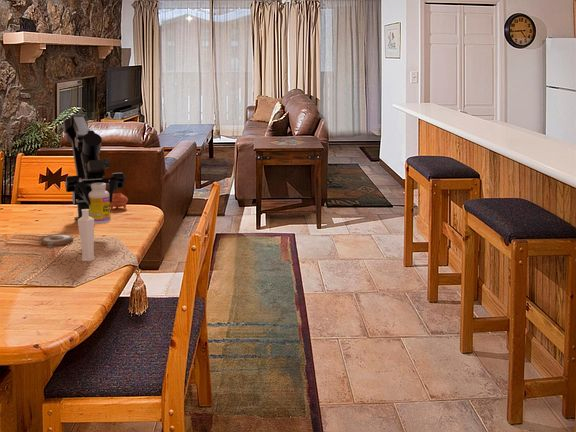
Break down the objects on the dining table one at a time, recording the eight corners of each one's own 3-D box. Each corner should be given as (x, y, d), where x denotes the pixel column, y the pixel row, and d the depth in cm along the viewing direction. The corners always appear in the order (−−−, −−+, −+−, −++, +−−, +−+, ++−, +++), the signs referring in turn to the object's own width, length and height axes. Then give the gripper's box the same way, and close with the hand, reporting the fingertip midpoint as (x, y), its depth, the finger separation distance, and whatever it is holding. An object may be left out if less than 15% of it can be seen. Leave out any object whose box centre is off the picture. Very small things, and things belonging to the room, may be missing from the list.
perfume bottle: (89, 256, 192) (86, 207, 189) (99, 258, 190) (96, 209, 186) (76, 259, 189) (73, 210, 185) (86, 262, 186) (83, 212, 183)
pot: (116, 211, 249) (113, 194, 249) (106, 212, 255) (102, 196, 254) (133, 207, 255) (130, 190, 255) (123, 208, 261) (119, 192, 260)
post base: (48, 236, 213) (48, 232, 213) (78, 236, 214) (78, 232, 213) (33, 247, 201) (33, 243, 201) (65, 247, 201) (65, 243, 201)
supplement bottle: (105, 225, 208) (102, 186, 205) (86, 224, 209) (83, 185, 206) (114, 220, 214) (112, 182, 211) (96, 219, 215) (93, 181, 212)
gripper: (64, 151, 205) (72, 191, 198) (122, 148, 214) (132, 187, 207) (62, 171, 214) (69, 211, 207) (118, 168, 222) (127, 205, 215)
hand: (100, 203), depth 209 cm, fingers closed on supplement bottle, 7 cm apart
